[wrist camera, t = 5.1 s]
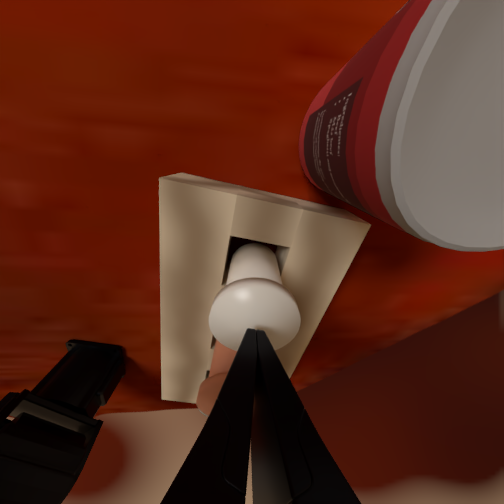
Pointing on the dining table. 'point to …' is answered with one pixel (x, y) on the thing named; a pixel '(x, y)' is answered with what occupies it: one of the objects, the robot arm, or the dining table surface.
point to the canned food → (419, 125)
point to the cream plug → (254, 300)
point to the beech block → (217, 267)
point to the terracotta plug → (215, 377)
